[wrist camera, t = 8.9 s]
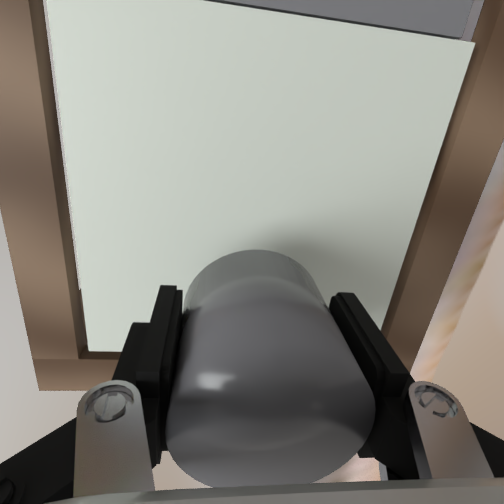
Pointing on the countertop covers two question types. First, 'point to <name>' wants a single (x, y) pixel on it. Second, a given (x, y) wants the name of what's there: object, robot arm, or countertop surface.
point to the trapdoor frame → (58, 218)
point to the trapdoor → (248, 139)
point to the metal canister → (263, 378)
